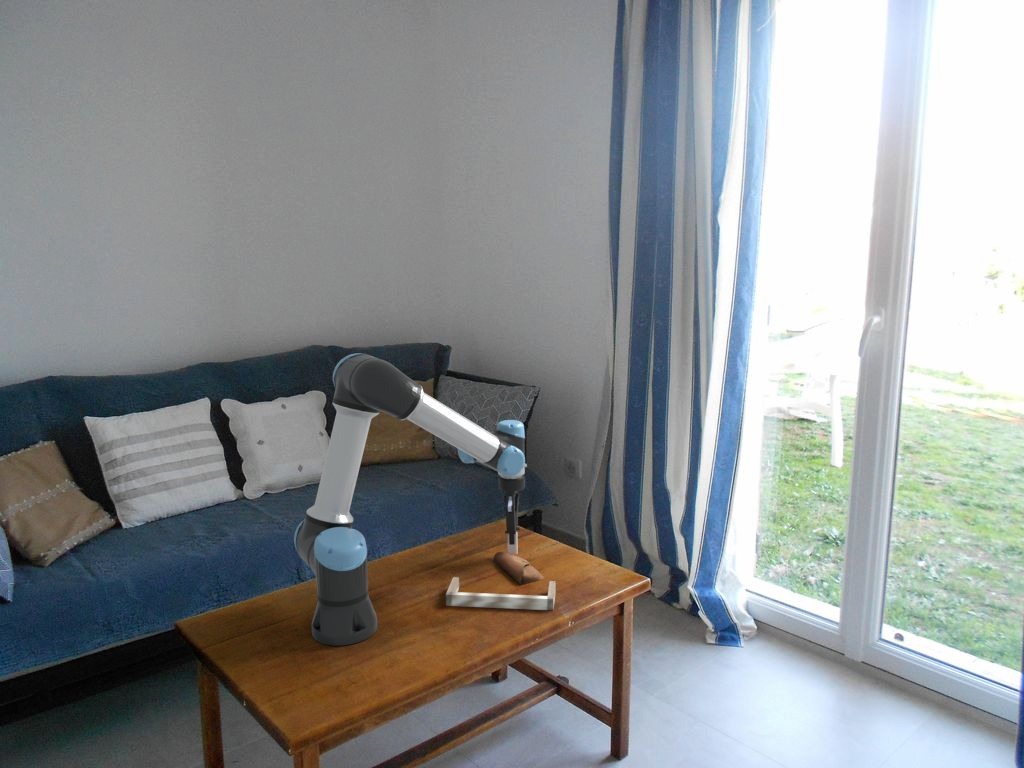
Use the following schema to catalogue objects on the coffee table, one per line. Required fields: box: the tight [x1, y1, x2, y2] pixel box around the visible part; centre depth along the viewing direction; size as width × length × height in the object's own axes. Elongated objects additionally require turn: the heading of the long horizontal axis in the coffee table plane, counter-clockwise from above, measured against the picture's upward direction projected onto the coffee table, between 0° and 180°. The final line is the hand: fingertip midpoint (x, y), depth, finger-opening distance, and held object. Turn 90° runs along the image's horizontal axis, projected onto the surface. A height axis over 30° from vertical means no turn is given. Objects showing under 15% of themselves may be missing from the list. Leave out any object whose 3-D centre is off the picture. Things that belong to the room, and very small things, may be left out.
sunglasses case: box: [492, 551, 545, 586], centre depth 208 cm, size 18×7×7 cm
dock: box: [445, 576, 557, 611], centre depth 191 cm, size 27×10×3 cm, turn 84°
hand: (512, 553), depth 216 cm, fingers closed
